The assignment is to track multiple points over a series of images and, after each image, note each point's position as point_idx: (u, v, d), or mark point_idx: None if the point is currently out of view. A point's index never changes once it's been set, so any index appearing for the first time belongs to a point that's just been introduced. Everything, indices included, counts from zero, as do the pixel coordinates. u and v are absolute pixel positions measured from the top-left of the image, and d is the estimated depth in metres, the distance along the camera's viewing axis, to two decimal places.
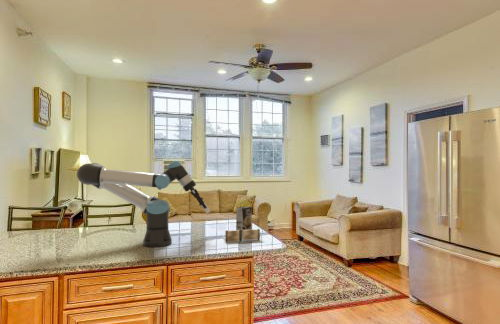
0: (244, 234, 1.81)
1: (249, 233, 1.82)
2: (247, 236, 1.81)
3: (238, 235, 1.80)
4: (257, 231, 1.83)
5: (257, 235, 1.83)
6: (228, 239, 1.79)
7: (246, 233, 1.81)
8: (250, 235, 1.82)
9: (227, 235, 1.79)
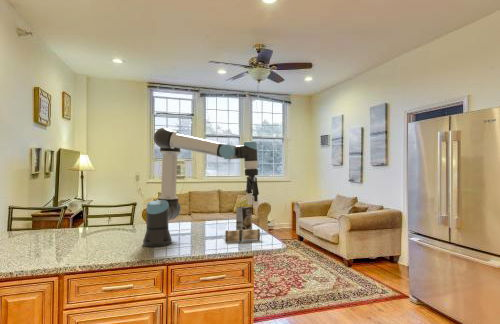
0: (244, 234, 1.81)
1: (249, 233, 1.82)
2: (247, 236, 1.81)
3: (238, 235, 1.80)
4: (257, 231, 1.83)
5: (257, 235, 1.83)
6: (228, 239, 1.79)
7: (246, 233, 1.81)
8: (250, 235, 1.82)
9: (227, 235, 1.79)
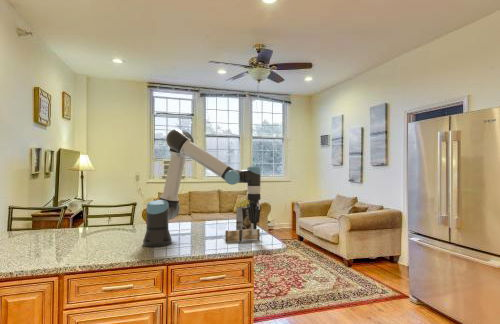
0: (244, 234, 1.81)
1: (249, 233, 1.82)
2: (247, 236, 1.82)
3: (238, 235, 1.80)
4: (257, 231, 1.83)
5: (257, 235, 1.83)
6: (228, 239, 1.79)
7: (246, 233, 1.81)
8: (250, 235, 1.82)
9: (227, 235, 1.79)
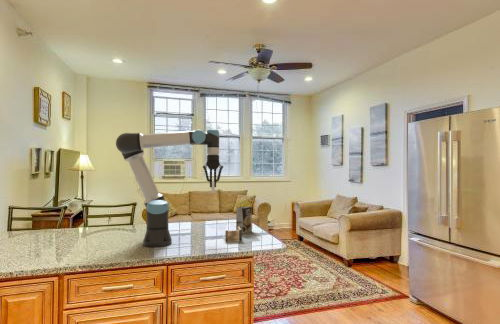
0: None
1: None
2: None
3: (238, 235, 1.80)
4: None
5: None
6: (228, 239, 1.79)
7: None
8: None
9: (227, 235, 1.79)
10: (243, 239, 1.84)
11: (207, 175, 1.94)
